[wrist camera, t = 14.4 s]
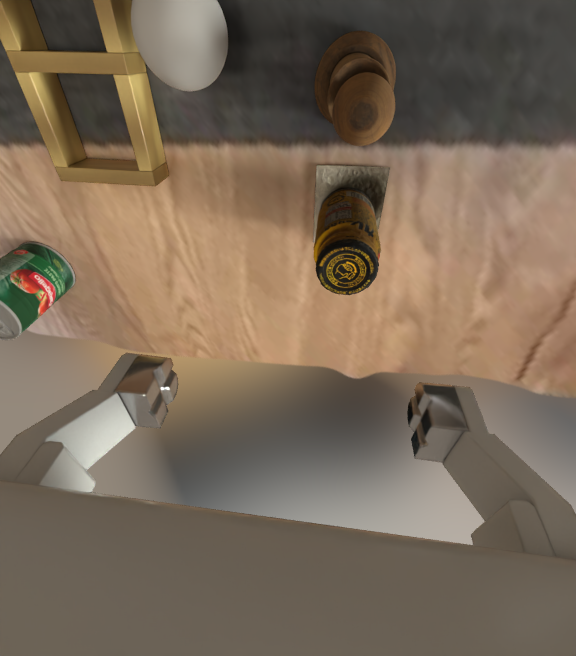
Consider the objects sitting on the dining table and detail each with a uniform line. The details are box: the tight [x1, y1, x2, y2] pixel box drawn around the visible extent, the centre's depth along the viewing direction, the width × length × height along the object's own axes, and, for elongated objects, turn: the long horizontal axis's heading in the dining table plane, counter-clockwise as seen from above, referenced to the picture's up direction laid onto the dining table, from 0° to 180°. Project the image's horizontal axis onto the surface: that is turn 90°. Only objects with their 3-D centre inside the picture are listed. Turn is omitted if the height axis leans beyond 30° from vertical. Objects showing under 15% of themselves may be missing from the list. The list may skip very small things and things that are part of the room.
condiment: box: [313, 165, 390, 295], centre depth 31 cm, size 7×8×12 cm
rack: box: [0, 0, 169, 186], centre depth 29 cm, size 19×10×4 cm, turn 179°
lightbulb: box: [131, 0, 228, 91], centre depth 24 cm, size 6×6×11 cm
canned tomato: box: [0, 242, 75, 340], centre depth 42 cm, size 8×8×11 cm
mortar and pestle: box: [315, 31, 396, 146], centre depth 22 cm, size 7×6×18 cm
